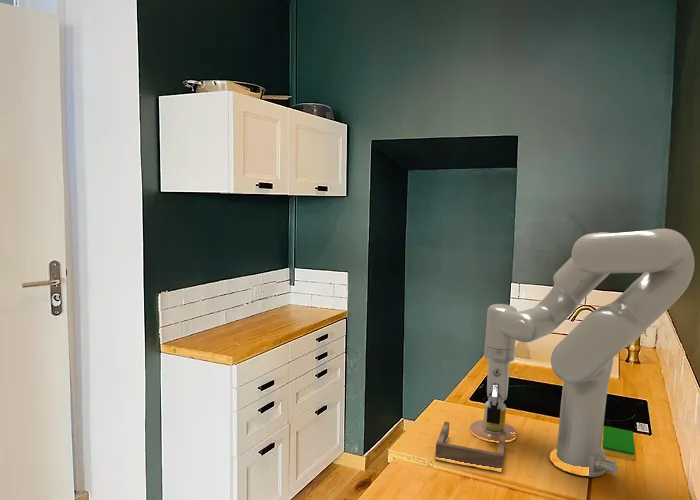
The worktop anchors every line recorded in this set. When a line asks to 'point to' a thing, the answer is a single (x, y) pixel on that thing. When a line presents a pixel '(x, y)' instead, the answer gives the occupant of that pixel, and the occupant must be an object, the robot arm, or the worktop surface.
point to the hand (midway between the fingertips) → (494, 415)
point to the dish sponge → (618, 443)
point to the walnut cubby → (469, 451)
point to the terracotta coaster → (479, 431)
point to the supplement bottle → (493, 427)
